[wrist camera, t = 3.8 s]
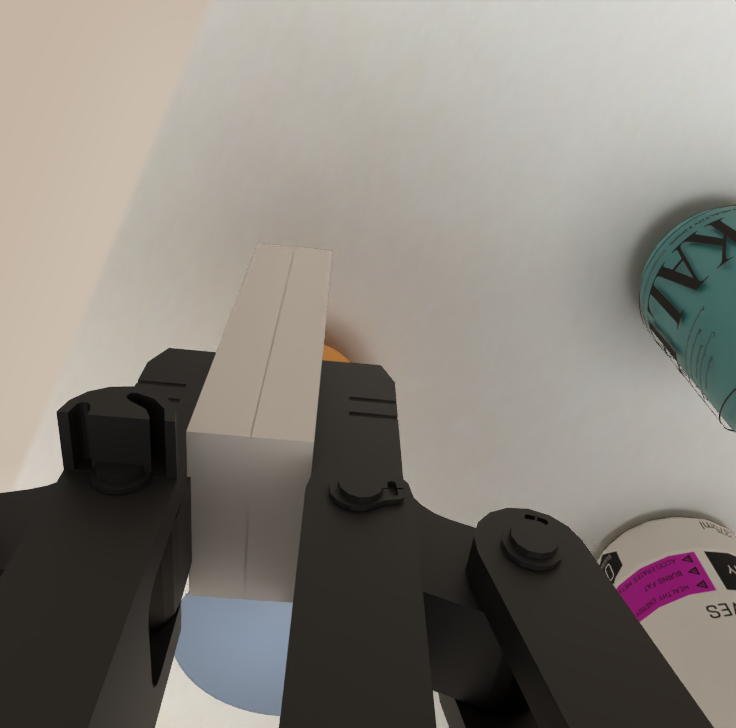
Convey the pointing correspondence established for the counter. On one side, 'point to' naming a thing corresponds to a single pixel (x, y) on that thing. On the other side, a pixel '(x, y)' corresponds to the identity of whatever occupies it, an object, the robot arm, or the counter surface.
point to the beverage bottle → (697, 303)
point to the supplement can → (684, 602)
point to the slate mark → (236, 650)
